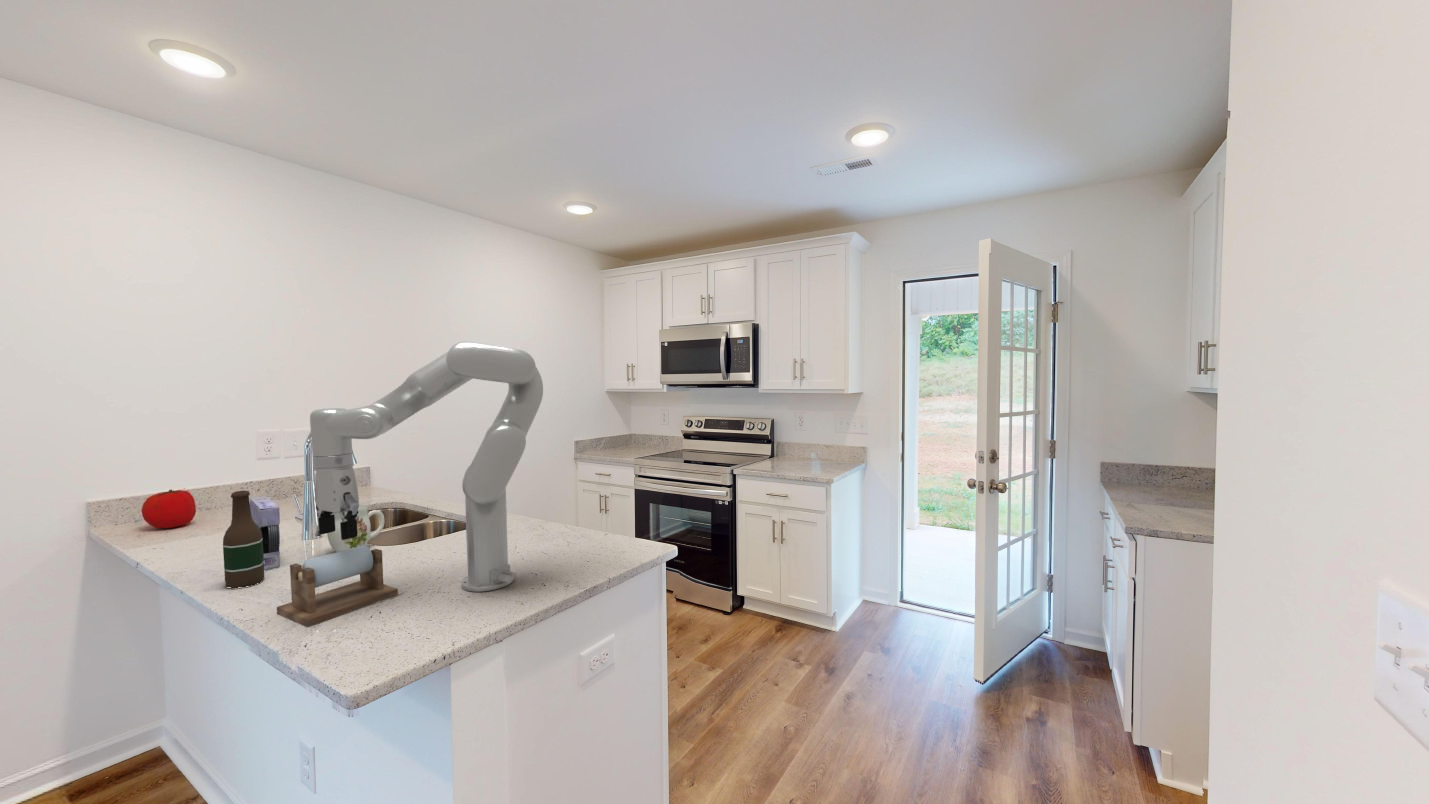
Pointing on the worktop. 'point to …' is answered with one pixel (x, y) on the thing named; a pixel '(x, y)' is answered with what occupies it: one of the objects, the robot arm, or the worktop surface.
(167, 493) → the tomato
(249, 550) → the beer bottle
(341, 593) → the roll holder
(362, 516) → the pitcher
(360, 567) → the kitchen roll
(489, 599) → the worktop surface
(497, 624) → the worktop surface
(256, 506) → the cake pan box
